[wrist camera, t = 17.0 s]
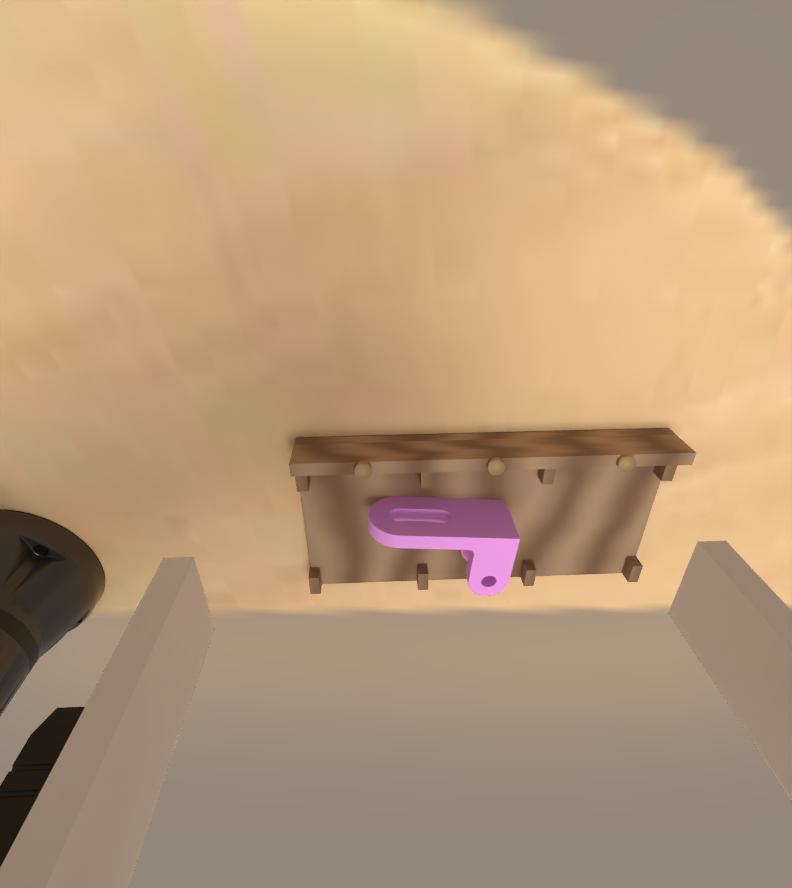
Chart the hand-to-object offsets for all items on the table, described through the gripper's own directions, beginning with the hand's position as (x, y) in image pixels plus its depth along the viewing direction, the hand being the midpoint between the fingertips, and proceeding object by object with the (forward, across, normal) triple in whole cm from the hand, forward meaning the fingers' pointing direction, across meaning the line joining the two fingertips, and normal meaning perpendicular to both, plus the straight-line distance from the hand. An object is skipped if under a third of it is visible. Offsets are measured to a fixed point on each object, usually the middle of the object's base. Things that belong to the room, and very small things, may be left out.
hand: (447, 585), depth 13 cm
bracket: (+25, +4, -17) cm, 30 cm away
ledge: (+29, +8, -20) cm, 36 cm away
